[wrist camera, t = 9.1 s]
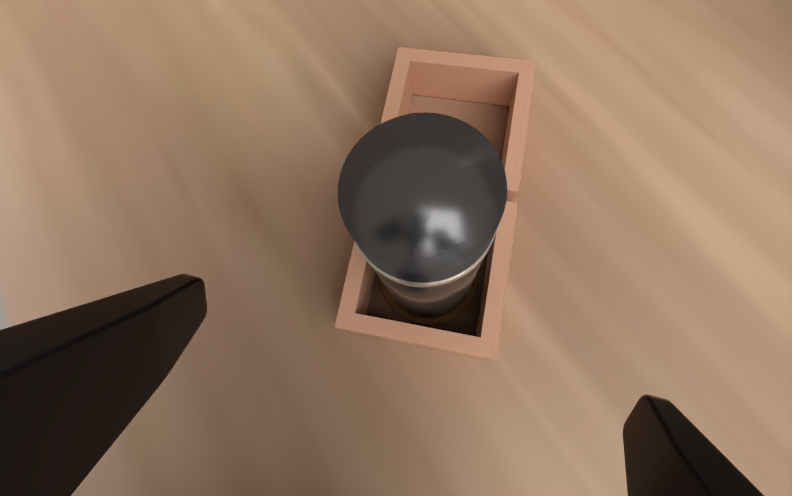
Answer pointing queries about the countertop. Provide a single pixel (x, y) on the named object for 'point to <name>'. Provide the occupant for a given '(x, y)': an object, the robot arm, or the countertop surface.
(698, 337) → the countertop surface
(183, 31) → the countertop surface
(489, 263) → the collar
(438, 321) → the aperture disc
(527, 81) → the collar
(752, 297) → the countertop surface
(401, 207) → the tube
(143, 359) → the robot arm
